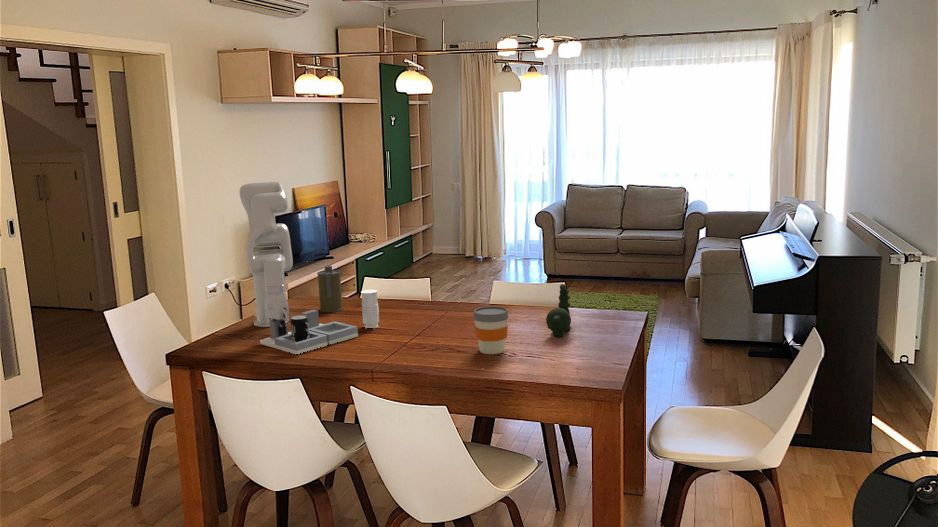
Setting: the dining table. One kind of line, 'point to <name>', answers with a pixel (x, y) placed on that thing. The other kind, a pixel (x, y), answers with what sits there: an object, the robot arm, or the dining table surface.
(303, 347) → the grey tray
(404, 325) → the dining table surface
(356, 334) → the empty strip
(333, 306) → the canister
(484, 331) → the reusable coffee cup
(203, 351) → the dining table surface
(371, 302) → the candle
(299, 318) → the beverage can
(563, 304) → the toy figurine
